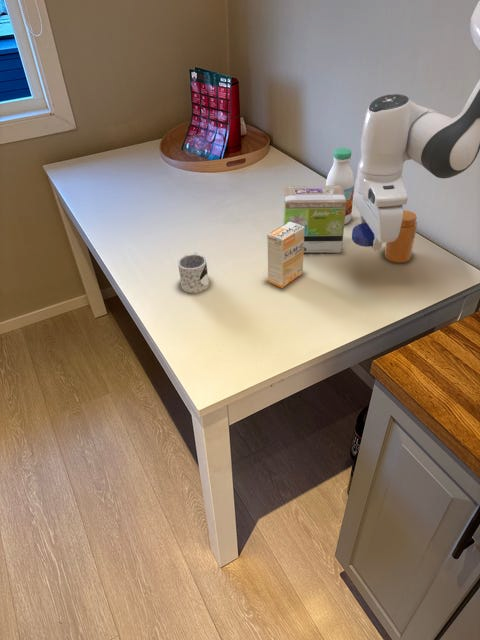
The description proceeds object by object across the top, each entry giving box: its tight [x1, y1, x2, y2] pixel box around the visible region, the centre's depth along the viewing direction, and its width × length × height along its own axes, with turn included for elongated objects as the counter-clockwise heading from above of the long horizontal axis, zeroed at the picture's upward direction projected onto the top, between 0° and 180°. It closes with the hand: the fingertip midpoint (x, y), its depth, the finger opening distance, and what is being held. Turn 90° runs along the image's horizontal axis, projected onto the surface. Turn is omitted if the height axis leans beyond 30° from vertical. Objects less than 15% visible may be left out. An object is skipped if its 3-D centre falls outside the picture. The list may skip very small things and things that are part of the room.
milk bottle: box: [325, 147, 355, 225], centre depth 134 cm, size 8×8×20 cm
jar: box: [384, 209, 418, 263], centre depth 119 cm, size 6×6×11 cm
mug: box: [177, 252, 210, 294], centre depth 117 cm, size 10×7×7 cm
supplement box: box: [266, 222, 305, 289], centre depth 114 cm, size 8×5×13 cm, turn 137°
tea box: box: [282, 185, 346, 254], centre depth 125 cm, size 15×10×15 cm
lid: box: [351, 222, 375, 248], centre depth 108 cm, size 7×7×2 cm
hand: (370, 240), depth 109 cm, fingers closed on lid, 6 cm apart
